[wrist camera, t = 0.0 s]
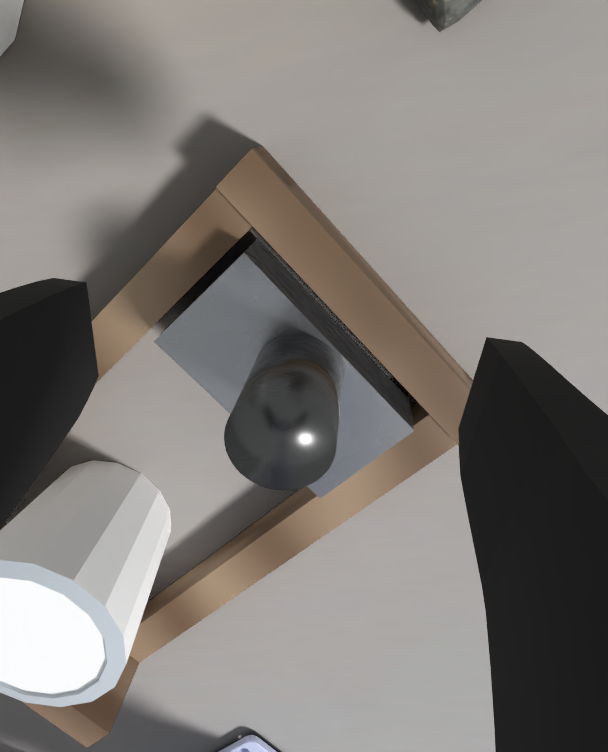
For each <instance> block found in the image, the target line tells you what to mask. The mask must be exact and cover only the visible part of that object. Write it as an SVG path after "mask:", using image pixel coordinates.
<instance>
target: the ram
mask: <svg viewBox="0 0 608 752" xmlns="http://www.w3.org/2000/svg"><path fill="white" fill-rule="evenodd" d="M154 342H155V343H156V344H157V345H158V346H159V347H160V348H161V349H162V350H163V351H165V352H166V353H167V354H168V355H169V356H170V357H171V358H172V359H173V360H174V361H175V362H176V363H177V364H178V365H179V366H180V367H181V368H183V369H184V370H185V371H186V372H187V373H188V374H189V375H190V376H191V377H192V378H193V379H194V380H195V381H196V382H197V383H198V384H199V385H200V386H202V387H203V388H204V389H205V390H206V391H207V392H208V393H209V394H210V395H211V396H212V397H213V398H214V399H215V400H216V401H217V402H218V403H220V404H221V405H222V406H223V407H224V408H225V409H226V410H227V411H228V412H229V413H230V417H229V419H228V421H227V424H226V427H225V432H224V441H225V447H226V451H227V454H228V456H229V458H230V460H231V462H232V463H233V465H234V466H235V467H236V469H237V470H238V471H239V472H240V473H241V474H242V475H244V476H245V477H246V478H247V479H249V480H251V481H252V482H254V483H256V484H258V485H260V486H263V487H266V488H270V489H275V490H294V489H299V488H303V487H306V486H307V487H308V488H309V489H311V490H312V491H313V492H314V493H315V494H316V495H317V496H318V497H319V498H322V497H323V496H325V495H326V494H327V493H329V492H330V491H332V490H333V489H334V488H336V487H337V486H339V485H340V484H341V483H343V482H344V481H345V480H347V479H348V478H350V477H351V476H352V475H354V474H355V473H357V472H358V471H359V470H361V469H362V468H364V467H365V466H366V465H368V464H369V463H370V462H372V461H373V460H375V459H376V458H377V457H379V456H380V455H382V454H383V453H384V452H386V451H387V450H389V449H390V448H391V447H393V446H394V445H395V444H397V443H398V442H400V441H401V440H402V439H404V438H405V437H407V436H408V435H409V434H411V433H412V432H414V424H413V418H412V411H411V404H410V399H409V398H408V397H407V396H406V395H405V394H404V393H403V392H402V391H401V390H400V389H399V388H398V387H397V386H396V385H395V384H394V382H393V381H392V380H391V379H390V378H389V377H388V376H387V375H386V374H385V373H384V372H383V371H382V370H381V369H380V368H379V367H378V366H377V364H376V363H375V362H374V361H373V360H372V359H371V358H370V357H369V356H368V355H367V354H366V353H365V352H364V351H363V350H362V349H361V347H360V346H359V345H358V344H357V343H356V342H355V341H354V340H353V339H352V338H351V337H350V336H349V335H348V334H347V333H346V332H345V331H344V329H343V328H342V327H341V326H340V325H339V324H338V323H337V322H336V321H335V320H334V319H333V318H332V317H331V316H330V315H329V314H328V313H327V311H326V310H325V309H324V308H323V307H322V306H321V305H320V304H319V303H318V302H317V301H316V300H315V299H314V298H313V297H312V296H311V295H310V293H309V292H308V291H307V290H306V289H305V288H304V287H303V286H302V285H301V284H300V283H299V282H298V281H297V280H296V279H295V278H294V277H293V275H292V274H291V273H290V272H289V271H288V270H287V269H286V268H285V267H284V266H283V265H282V264H281V263H280V262H279V261H278V260H277V258H276V257H275V256H274V255H273V254H272V253H271V252H270V251H269V250H268V249H267V248H266V247H265V246H264V245H263V244H262V243H261V242H260V240H259V239H258V238H257V239H256V240H255V241H254V242H253V243H252V244H251V245H250V246H249V247H248V248H247V249H246V250H245V251H244V252H243V253H242V254H241V255H240V256H239V257H238V258H237V259H236V260H235V261H234V262H233V263H232V264H231V265H230V266H229V267H228V268H227V269H226V270H225V271H224V272H223V273H222V274H221V275H220V276H219V277H218V278H217V279H216V280H215V281H214V282H213V283H212V284H211V285H210V286H209V287H208V288H207V289H206V290H205V291H204V292H203V293H202V294H201V295H200V296H199V297H198V298H197V299H196V300H194V301H193V302H192V303H191V304H190V305H189V306H188V307H187V308H186V309H185V310H184V311H183V312H182V313H181V314H180V315H179V316H178V317H177V318H176V319H175V320H174V321H173V322H172V323H171V324H170V325H169V326H168V327H167V329H166V330H165V331H164V332H163V333H162V334H161V335H160V336H159V337H158V338H157V339H156V340H155V341H154Z"/></svg>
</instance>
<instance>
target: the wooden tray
mask: <svg viewBox="0 0 608 752" xmlns="http://www.w3.org/2000/svg"><path fill="white" fill-rule="evenodd" d="M252 227H254V228H255V229H256V230H257V231H258V232H259V234H260V235H261V236H262V237H263V238H264V239H265V240H266V241H267V242H268V243H269V244H270V245H271V246H272V247H273V248H274V249H275V251H276V252H277V253H278V254H279V255H280V256H281V257H282V258H283V259H284V260H285V261H286V262H287V263H288V264H289V265H290V266H291V268H292V269H293V270H294V271H295V272H296V273H297V274H298V275H299V276H300V277H301V278H302V279H303V280H304V281H305V282H306V283H307V285H308V286H309V287H310V288H311V289H312V290H313V291H314V292H315V293H316V294H317V295H318V296H319V297H320V298H321V299H322V301H323V302H324V303H325V304H326V305H327V306H328V307H329V308H330V309H331V310H332V311H333V312H334V313H335V314H336V315H337V316H338V318H339V319H340V320H341V321H342V322H343V323H344V324H345V325H346V326H347V327H348V328H349V329H350V330H351V331H352V332H353V333H354V335H355V336H356V337H357V338H358V339H359V340H360V341H361V342H362V343H363V344H364V345H365V346H366V347H367V348H368V349H369V350H370V352H371V353H372V354H373V355H374V356H375V357H376V358H377V359H378V360H379V361H380V362H381V363H382V364H383V365H384V366H385V368H386V369H387V370H388V371H389V372H390V373H391V374H392V375H393V376H394V377H395V378H396V379H397V380H398V381H399V382H400V383H401V385H402V386H403V387H404V388H405V389H406V390H407V391H408V392H409V393H410V394H411V395H412V396H413V397H414V398H415V399H416V400H417V403H416V404H414V405H413V406H412V407H411V411H412V418H413V424H414V432H412V433H411V434H409V435H408V436H407V437H405V438H404V439H402V440H401V441H400V442H398V443H397V444H395V445H394V446H393V447H391V448H390V449H389V450H387V451H386V452H384V453H383V454H382V455H380V456H379V457H377V458H376V459H375V460H373V461H372V462H370V463H369V464H368V465H366V466H365V467H364V468H362V469H361V470H359V471H358V472H357V473H355V474H354V475H352V476H351V477H350V478H348V479H347V480H345V481H344V482H343V483H341V484H340V485H339V486H337V487H336V488H334V489H333V490H332V491H330V492H329V493H327V494H326V495H325V496H323V497H322V498H319V497H318V496H317V495H316V494H315V493H314V492H313V491H312V490H311V489H309V488H308V487H307V486H306V487H303V488H301V489H300V490H298V491H297V492H296V493H294V494H293V495H292V496H290V497H289V498H287V499H286V500H285V501H283V502H282V503H281V504H279V505H278V506H277V507H275V508H274V509H273V510H271V511H270V512H269V513H267V514H266V515H264V516H263V517H262V518H260V519H259V520H258V521H256V522H255V523H254V524H252V525H251V526H250V527H248V528H247V529H246V530H244V531H243V532H242V533H240V534H239V535H237V536H236V537H235V538H233V539H232V540H231V541H229V542H228V543H227V544H225V545H224V546H223V547H221V548H220V549H219V550H217V551H216V552H214V553H213V554H212V555H210V556H209V557H208V558H206V559H205V560H204V561H202V562H201V563H200V564H198V565H197V566H196V567H194V568H193V569H192V570H190V571H189V572H187V573H186V574H185V575H183V576H182V577H181V578H179V579H178V580H177V581H175V582H174V583H173V584H171V585H170V586H169V587H167V588H166V589H164V590H163V591H162V592H160V593H159V594H158V595H156V596H155V597H154V598H152V599H151V600H150V601H148V602H147V604H146V607H145V610H144V613H143V616H142V619H141V622H140V625H139V628H138V631H137V634H136V637H135V640H134V643H133V646H132V649H131V652H130V655H129V658H128V661H127V664H126V666H125V668H124V670H123V672H122V674H121V676H120V678H119V680H118V682H117V684H116V686H115V687H114V688H113V689H111V690H109V691H108V692H106V693H105V694H103V695H102V696H100V697H99V698H97V699H95V700H94V701H92V702H88V703H82V704H76V705H70V706H64V707H56V706H48V705H40V704H33V703H25V702H23V701H21V702H22V703H24V704H25V705H27V706H28V707H29V708H31V709H32V710H34V711H35V712H37V713H38V714H39V715H41V716H42V717H44V718H45V719H47V720H48V721H49V722H51V723H52V724H54V725H55V726H57V727H58V728H59V729H61V730H62V731H64V732H65V733H67V734H68V735H69V736H71V737H72V738H74V739H75V740H77V741H78V742H79V743H81V744H82V745H84V746H85V747H86V748H88V747H89V746H91V745H92V744H94V743H95V742H97V741H99V740H100V739H102V738H103V737H105V736H106V735H108V734H109V733H110V731H111V729H112V726H113V724H114V721H115V719H116V717H117V714H118V712H119V710H120V707H121V705H122V702H123V700H124V698H125V695H126V693H127V691H128V688H129V686H130V683H131V681H132V679H133V676H134V674H135V672H136V669H137V667H138V664H139V662H141V661H142V660H144V659H145V658H147V657H148V656H150V655H151V654H153V653H154V652H155V651H157V650H158V649H160V648H161V647H163V646H164V645H166V644H167V643H169V642H170V641H171V640H173V639H174V638H176V637H177V636H179V635H180V634H182V633H183V632H185V631H186V630H187V629H189V628H190V627H192V626H193V625H195V624H196V623H198V622H199V621H201V620H202V619H203V618H205V617H206V616H208V615H209V614H211V613H212V612H214V611H215V610H217V609H218V608H219V607H221V606H222V605H224V604H225V603H227V602H228V601H230V600H231V599H233V598H234V597H235V596H237V595H238V594H240V593H241V592H243V591H244V590H246V589H247V588H249V587H250V586H251V585H253V584H254V583H256V582H257V581H259V580H260V579H262V578H263V577H265V576H266V575H267V574H269V573H270V572H272V571H273V570H275V569H276V568H278V567H279V566H281V565H282V564H283V563H285V562H286V561H288V560H289V559H291V558H292V557H294V556H295V555H297V554H298V553H299V552H301V551H302V550H304V549H305V548H307V547H308V546H310V545H311V544H313V543H314V542H315V541H317V540H318V539H320V538H321V537H323V536H324V535H326V534H327V533H329V532H330V531H331V530H333V529H334V528H336V527H337V526H339V525H340V524H342V523H343V522H345V521H346V520H347V519H349V518H350V517H352V516H353V515H355V514H356V513H358V512H359V511H361V510H362V509H363V508H365V507H366V506H368V505H369V504H371V503H372V502H374V501H375V500H377V499H378V498H380V497H381V496H382V495H384V494H385V493H387V492H388V491H390V490H391V489H393V488H394V487H396V486H397V485H398V484H400V483H401V482H403V481H404V480H406V479H407V478H409V477H410V476H412V475H413V474H414V473H416V472H417V471H419V470H420V469H422V468H423V467H425V466H426V465H428V464H429V463H430V462H432V461H433V460H435V459H436V458H438V457H439V456H441V455H442V454H444V453H445V452H446V451H448V450H449V449H451V448H452V447H454V446H455V445H457V444H458V445H459V433H458V428H459V425H460V421H461V418H462V415H463V412H464V409H465V405H466V402H467V399H468V396H469V393H470V389H471V386H472V383H473V380H472V379H471V378H470V377H469V375H468V374H467V373H466V372H465V371H464V370H463V369H462V368H461V367H460V365H459V364H458V363H457V362H456V361H455V360H454V359H453V358H452V357H451V355H450V354H449V353H448V352H447V351H446V350H445V349H444V348H443V346H442V345H441V344H440V343H439V342H438V341H437V340H436V339H435V338H434V336H433V335H432V334H431V333H430V332H429V331H428V330H427V329H426V328H425V326H424V325H423V324H422V323H421V322H420V321H419V320H418V319H417V317H416V316H415V315H414V314H413V313H412V312H411V311H410V310H409V309H408V307H407V306H406V305H405V304H404V303H403V302H402V301H401V300H400V299H399V297H398V296H397V295H396V294H395V293H394V292H393V291H392V290H391V288H390V287H389V286H388V285H387V284H386V283H385V282H384V281H383V280H382V278H381V277H380V276H379V275H378V274H377V273H376V272H375V271H374V270H373V268H372V267H371V266H370V265H369V264H368V263H367V262H366V261H365V259H364V258H363V257H362V256H361V255H360V254H359V253H358V252H357V251H356V249H355V248H354V247H353V246H352V245H351V244H350V243H349V242H348V241H347V239H346V238H345V237H344V236H343V235H342V234H341V233H340V232H339V230H338V229H337V228H336V227H335V226H334V225H333V224H332V223H331V222H330V220H329V219H328V218H327V217H326V216H325V215H324V214H323V213H322V212H321V210H320V209H319V208H318V207H317V206H316V205H315V204H314V203H313V201H312V200H311V199H310V198H309V197H308V196H307V195H306V194H305V193H304V191H303V190H302V189H301V188H300V187H299V186H298V185H297V184H296V183H295V181H294V180H293V179H292V178H291V177H290V176H289V175H288V174H287V172H286V171H285V170H284V169H283V168H282V167H281V166H280V165H279V164H278V162H277V161H276V160H275V159H274V158H273V157H272V156H271V155H270V154H269V152H268V151H267V150H266V149H265V148H264V147H263V146H260V147H256V148H252V149H251V150H250V151H249V152H248V153H247V154H246V155H245V156H244V157H243V158H242V159H241V160H240V161H239V163H238V164H237V165H236V166H235V167H234V168H233V169H232V170H231V171H230V172H229V173H228V174H227V175H226V176H225V178H224V179H223V180H222V181H221V182H220V183H219V184H218V185H217V186H216V190H215V191H214V192H213V193H212V194H211V195H210V196H209V197H208V198H207V199H206V200H205V201H204V202H203V203H202V204H201V206H200V207H199V208H198V209H197V210H196V211H195V212H194V213H193V214H192V215H191V216H190V217H189V218H188V219H187V220H186V221H185V223H184V224H183V225H182V226H181V227H180V228H179V229H178V230H177V231H176V232H175V233H174V234H173V235H172V236H171V237H170V239H169V240H168V241H167V242H166V243H165V244H164V245H163V246H162V247H161V248H160V249H159V250H158V251H157V252H156V253H155V255H154V256H153V257H152V258H151V259H150V260H149V261H148V262H147V263H146V264H145V265H144V266H143V267H142V268H141V269H140V271H139V272H138V273H137V274H136V275H135V276H134V277H133V278H132V279H131V280H130V281H129V282H128V283H127V284H126V285H125V287H124V288H123V289H122V290H121V291H120V292H119V293H118V294H117V295H116V296H115V297H114V298H113V299H112V300H111V301H110V303H109V304H108V305H107V306H106V307H105V308H104V309H103V310H102V311H101V312H100V313H99V314H98V315H97V316H96V317H95V318H94V320H93V321H92V329H93V336H94V344H95V352H96V359H97V367H98V374H99V377H98V379H97V381H96V383H97V382H98V381H99V380H100V379H101V378H102V377H103V376H104V375H105V374H106V373H107V372H108V371H109V370H110V369H111V368H112V367H113V366H114V365H115V364H116V363H117V362H118V361H119V360H120V359H121V358H122V357H123V356H124V355H125V354H126V353H127V352H128V351H129V350H130V349H131V348H132V347H133V346H134V345H135V344H136V343H137V342H138V341H139V340H140V339H141V338H142V337H143V336H144V335H145V334H146V333H147V332H148V331H149V330H150V329H151V328H152V327H153V326H154V325H155V324H156V323H157V322H158V321H159V320H160V319H161V318H162V317H163V316H164V315H165V314H166V313H167V312H168V311H169V310H170V309H171V308H172V307H173V306H174V305H175V304H176V303H177V302H178V301H179V300H180V299H181V298H182V297H183V296H184V295H185V294H186V293H187V292H188V291H189V290H190V289H191V288H192V287H193V286H194V285H195V284H196V283H197V282H198V281H199V280H200V279H201V278H202V277H203V276H204V275H205V274H206V273H207V272H208V271H209V270H210V269H211V268H212V267H213V266H214V265H215V264H216V263H217V262H218V261H219V260H220V259H221V258H222V257H223V256H224V255H225V254H226V253H227V252H228V251H229V250H230V249H231V248H232V247H233V246H234V245H235V244H236V243H237V242H238V241H239V240H240V239H241V238H242V237H243V236H244V235H245V234H246V233H247V232H248V231H249V230H250V229H251V228H252ZM96 383H95V384H96ZM6 525H7V524H5V523H4V524H3V526H2V528H3V527H5V526H6ZM2 528H1V529H2ZM1 529H0V530H1Z"/></svg>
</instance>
